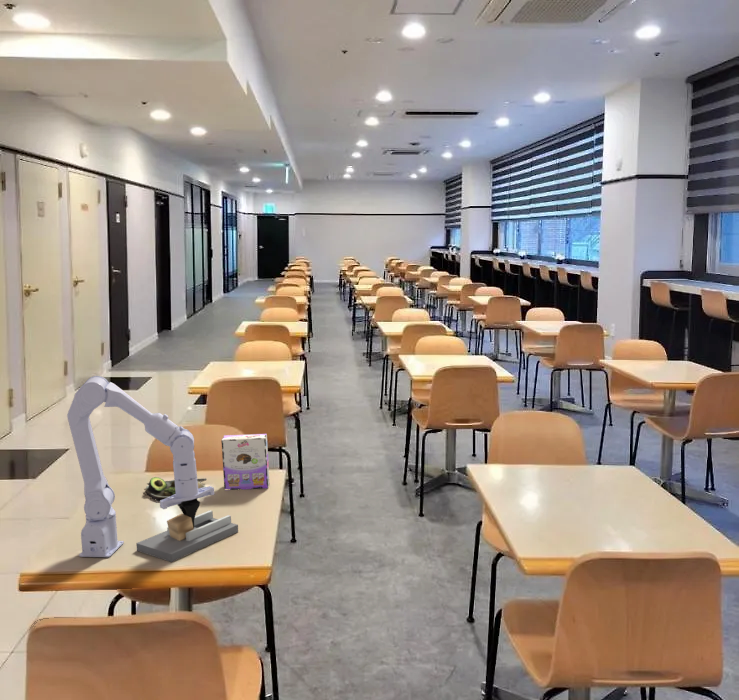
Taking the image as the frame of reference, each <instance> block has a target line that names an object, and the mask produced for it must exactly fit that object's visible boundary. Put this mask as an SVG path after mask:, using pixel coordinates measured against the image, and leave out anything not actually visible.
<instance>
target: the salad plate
mask: <svg viewBox="0 0 739 700" xmlns="http://www.w3.org/2000/svg"><path fill="white" fill-rule="evenodd" d="M197 481H198V488H204V487H207V486H206V485H205V484H203V482H205V481H207V478H206V477H205V478H204V477H203V478H197ZM146 485H147V486H146V487H145V490H144V491H145V492H146V494H147V496H149V498H151V497H152V498H151V499H153V500H155V499H156V501H159V500H163V499H165V498H168V497H170V496H172V495H174V494H176V491H175V480H174V479H172V480H164V479H163V478H161V477H157V476H155V477H152V478H150V479H149V482H148V483H146Z"/></svg>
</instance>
